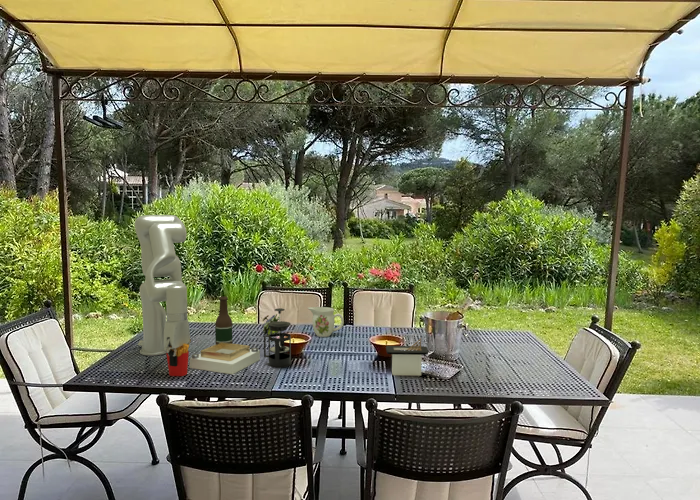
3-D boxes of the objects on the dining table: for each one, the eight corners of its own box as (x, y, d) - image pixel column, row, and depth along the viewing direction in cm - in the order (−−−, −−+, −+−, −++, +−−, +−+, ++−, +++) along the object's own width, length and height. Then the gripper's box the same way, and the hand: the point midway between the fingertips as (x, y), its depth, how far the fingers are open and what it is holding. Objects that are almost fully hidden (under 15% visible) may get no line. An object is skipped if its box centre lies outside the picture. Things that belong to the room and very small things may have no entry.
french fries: (166, 376, 198) (165, 345, 197) (169, 372, 202) (168, 342, 201) (188, 376, 198) (187, 345, 197) (191, 372, 202) (190, 342, 201)
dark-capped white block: (444, 363, 218) (445, 330, 216) (458, 388, 190) (459, 349, 188) (360, 363, 218) (361, 329, 216) (362, 387, 190) (362, 348, 188)
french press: (295, 361, 218) (294, 306, 216) (290, 368, 208) (290, 311, 206) (267, 360, 219) (267, 306, 217) (261, 367, 210) (260, 310, 207)
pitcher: (342, 338, 254) (343, 310, 252) (306, 337, 254) (306, 310, 253) (344, 332, 265) (344, 306, 263) (308, 332, 265) (308, 305, 264)
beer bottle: (228, 353, 228) (227, 299, 226) (212, 352, 230) (211, 298, 227) (235, 348, 236) (235, 295, 234) (219, 347, 237) (219, 295, 235)
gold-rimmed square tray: (189, 367, 208) (189, 352, 207) (219, 354, 227) (219, 339, 226) (232, 374, 201) (232, 357, 200) (259, 359, 219) (259, 344, 219)
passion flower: (266, 342, 265) (265, 321, 271) (287, 339, 264) (285, 317, 270) (260, 335, 255) (259, 312, 261) (282, 331, 255) (280, 309, 261)
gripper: (183, 311, 207) (184, 356, 209) (153, 320, 192) (154, 369, 193) (199, 313, 205) (200, 358, 206) (169, 322, 189) (171, 371, 191)
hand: (178, 363), depth 200 cm, fingers closed on french fries, 4 cm apart
